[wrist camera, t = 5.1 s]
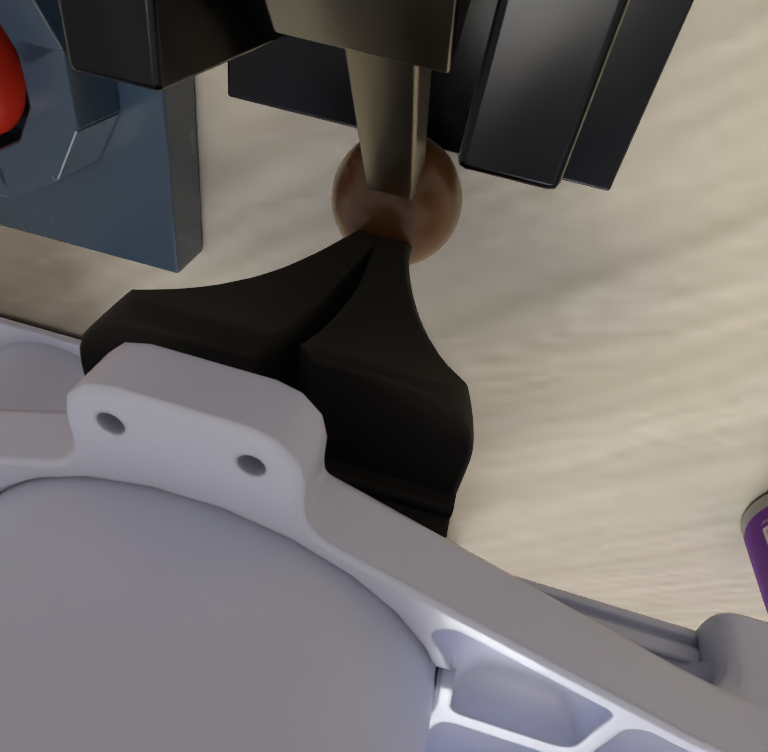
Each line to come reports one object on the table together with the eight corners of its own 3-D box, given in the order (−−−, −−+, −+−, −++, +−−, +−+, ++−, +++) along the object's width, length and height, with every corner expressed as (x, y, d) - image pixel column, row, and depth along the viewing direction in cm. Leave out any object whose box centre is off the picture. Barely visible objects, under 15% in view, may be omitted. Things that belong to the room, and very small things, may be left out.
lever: (469, 183, 15) (438, 293, 15) (357, 155, 16) (326, 263, 15) (649, -509, 4) (537, -110, 4) (228, -580, 4) (97, -208, 4)
